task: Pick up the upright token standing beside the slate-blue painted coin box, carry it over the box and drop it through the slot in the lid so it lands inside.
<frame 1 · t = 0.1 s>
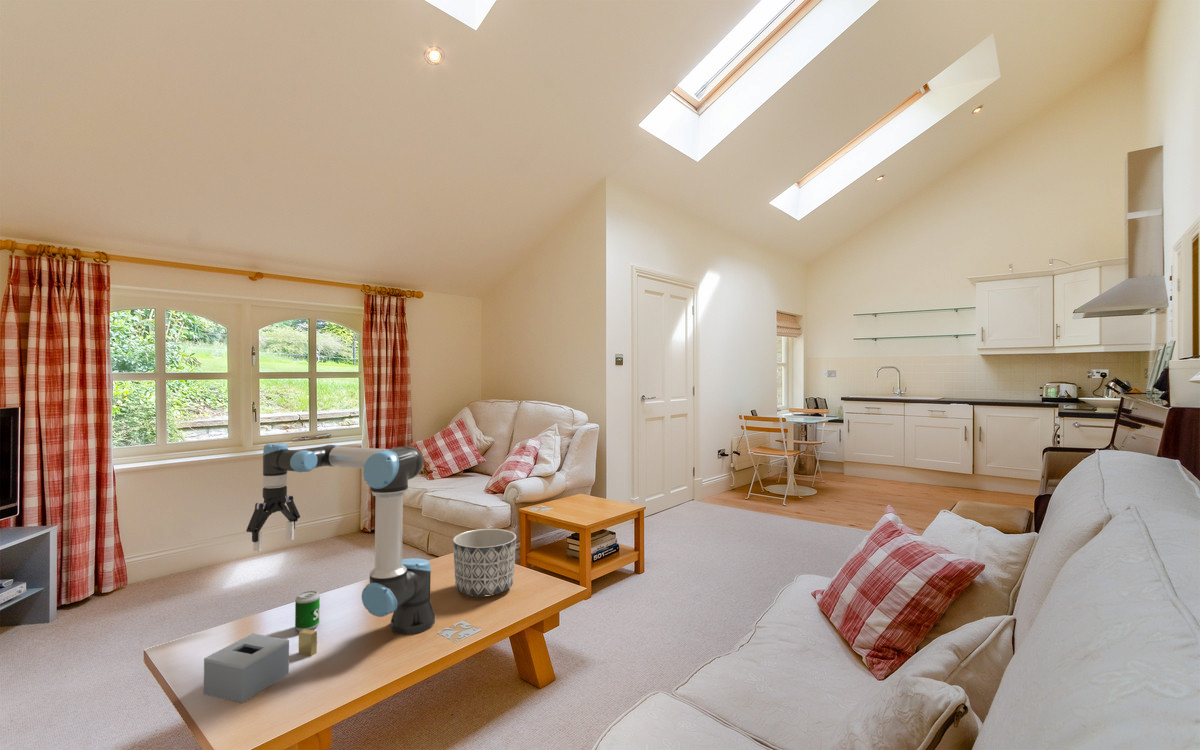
hand: (274, 544, 192), 28 cm above the table, fingers open, 13 cm apart
planter: (484, 590, 222), on the table
coin box: (247, 683, 153), on the table
soda can: (307, 628, 187), on the table
token: (307, 653, 170), on the table
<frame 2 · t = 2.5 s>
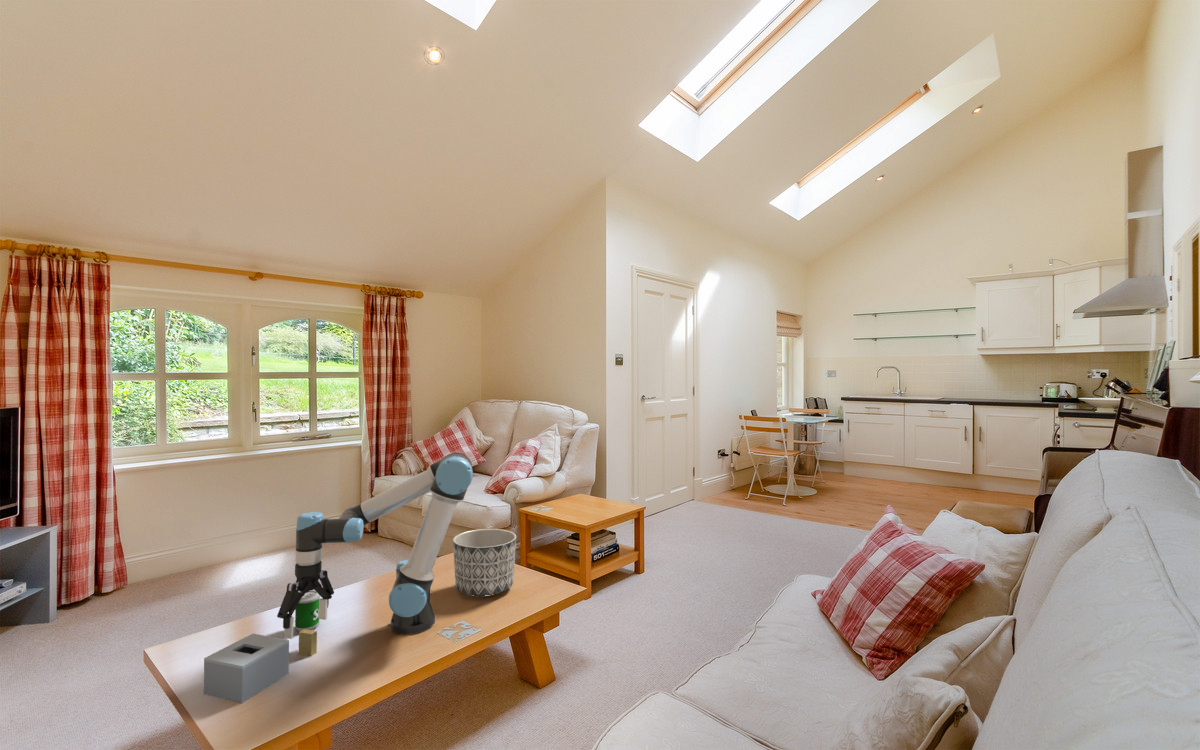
hand: (306, 628, 170), 8 cm above the table, fingers open, 13 cm apart
nothing on the table moved.
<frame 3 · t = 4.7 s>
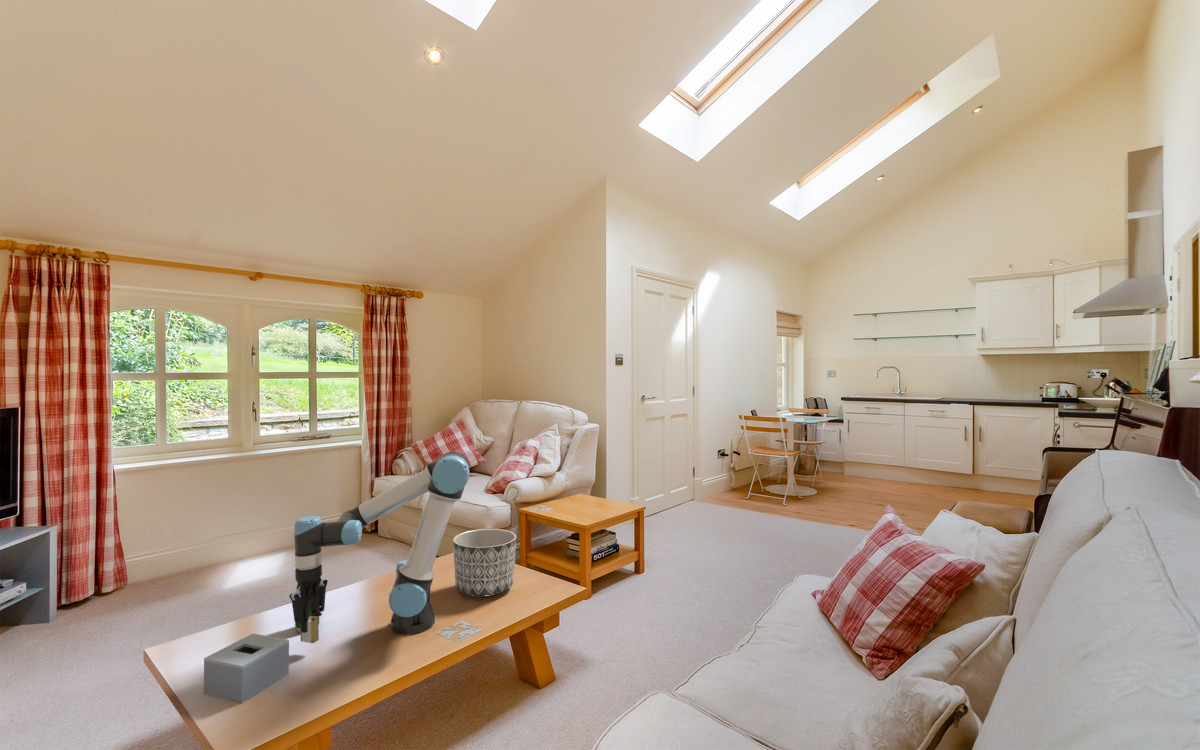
hand: (310, 638, 171), 5 cm above the table, fingers closed on token, 2 cm apart
token: (309, 640, 171), point 4 cm above the table, touching gripper
everything else where it was.
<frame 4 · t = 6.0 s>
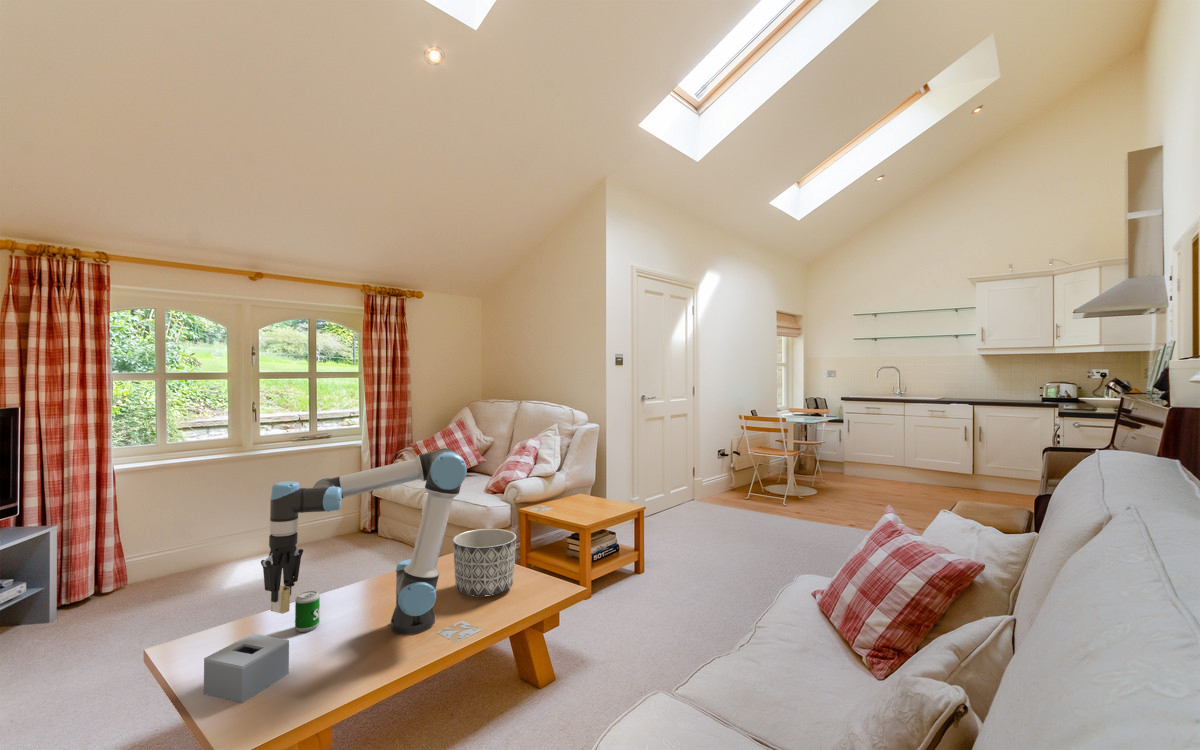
hand: (280, 609, 163), 17 cm above the table, fingers closed on token, 2 cm apart
token: (279, 610, 163), point 17 cm above the table, touching gripper
everything else where it was.
when the fingers open (12 cm above the table, at t = 7.6 s): token drops 11 cm, resting in coin box.
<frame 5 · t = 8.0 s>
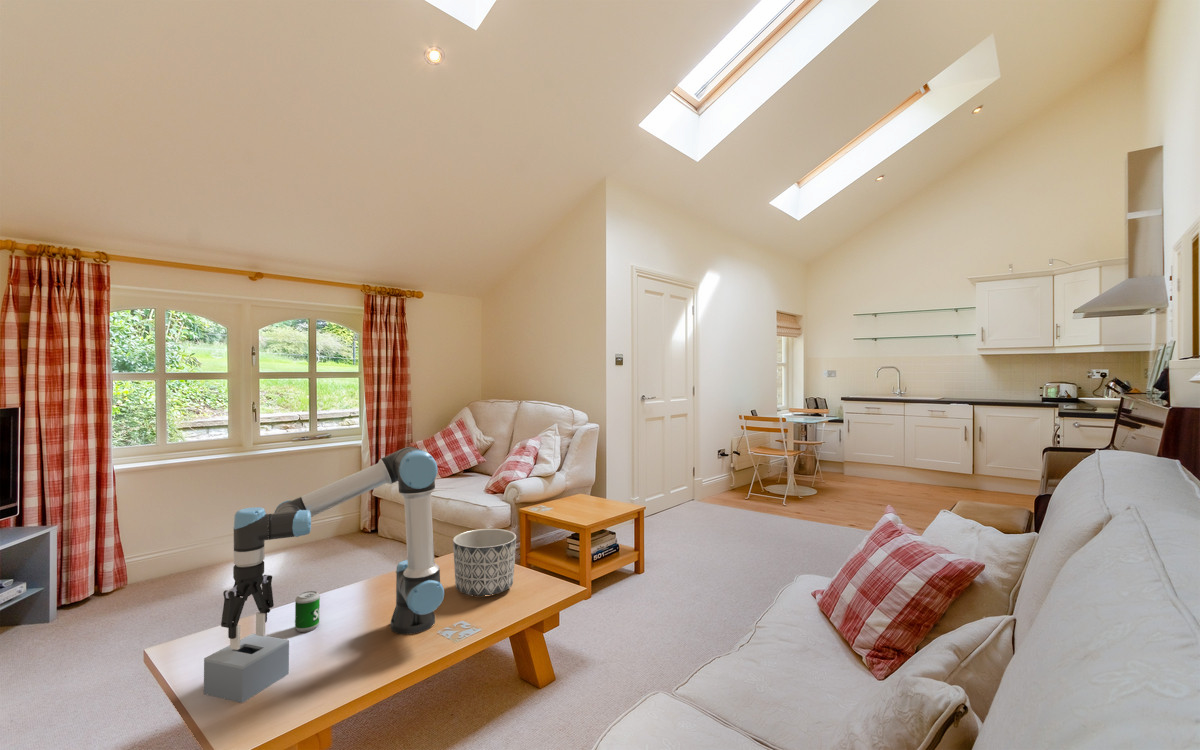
hand: (248, 641, 153), 12 cm above the table, fingers open, 7 cm apart
token: (246, 682, 154), resting in coin box, tilted 8°
everything else where it was.
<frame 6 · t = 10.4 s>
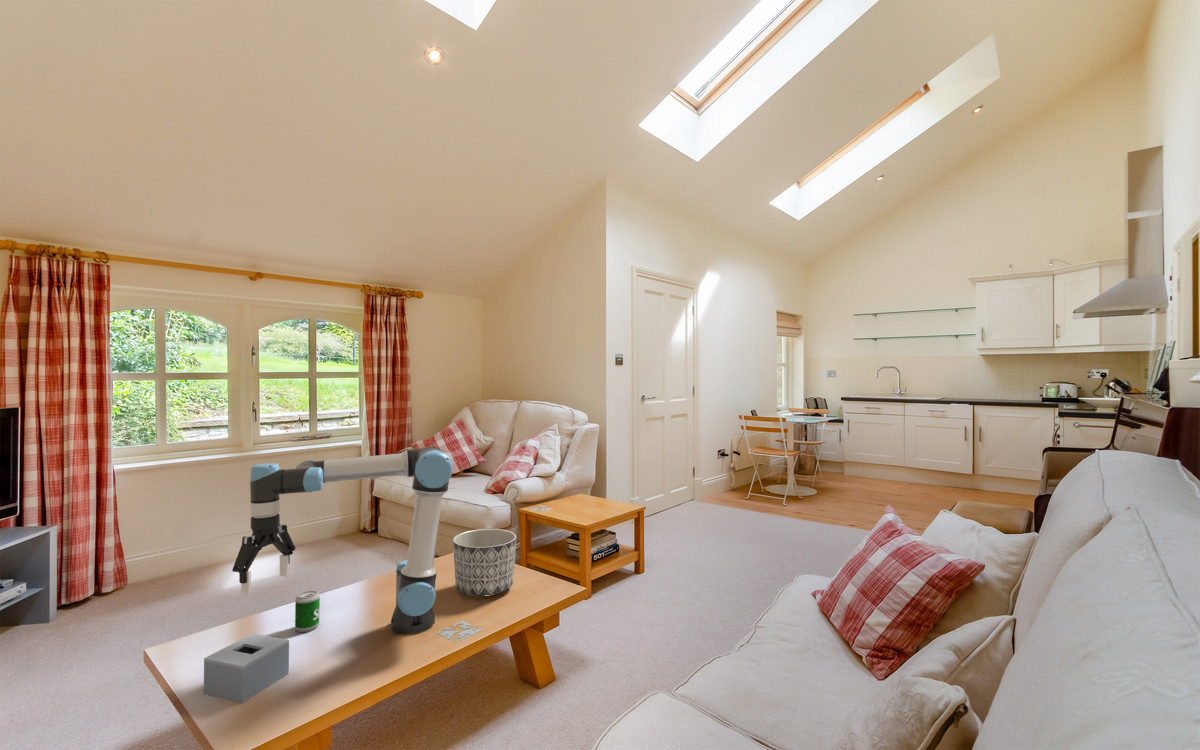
hand: (265, 584, 162), 25 cm above the table, fingers open, 13 cm apart
token: (246, 683, 154), resting in coin box
everything else where it was.
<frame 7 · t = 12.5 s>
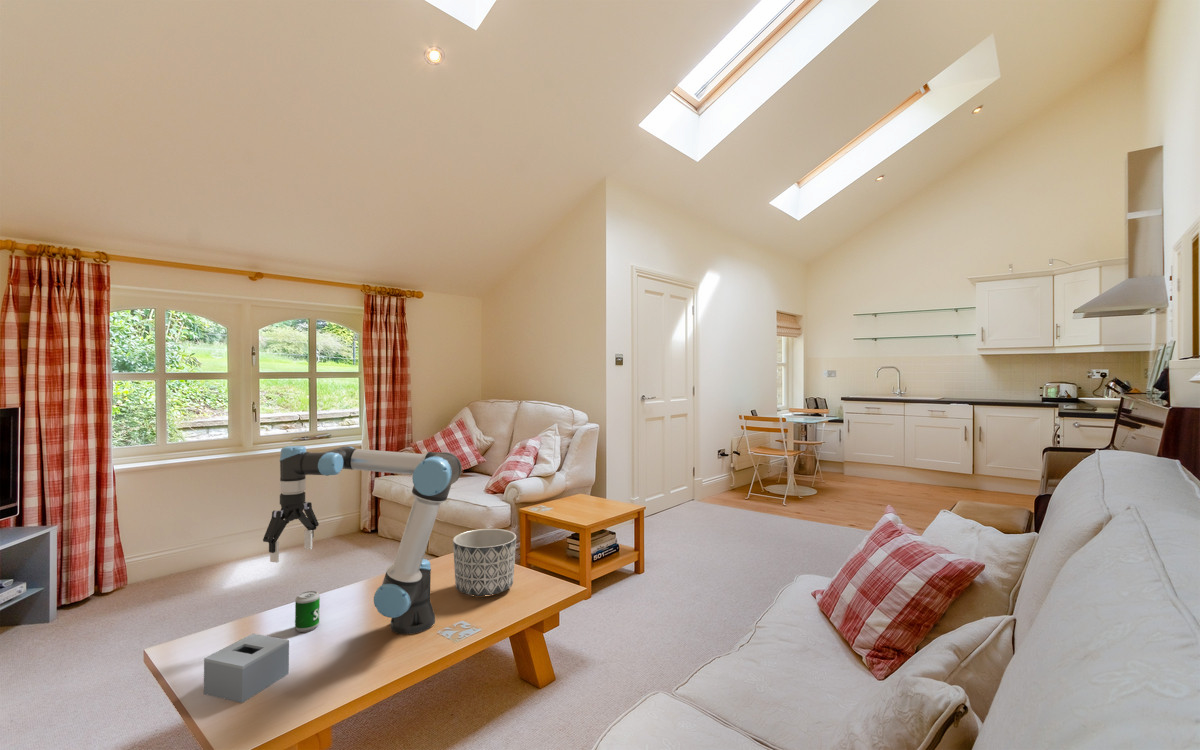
hand: (292, 555, 179), 29 cm above the table, fingers open, 13 cm apart
nothing on the table moved.
at the end: token inside the target area on the coin box (0.4 cm from its centre), point 0.0 cm above the coin box's base; the gripper is holding nothing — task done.
